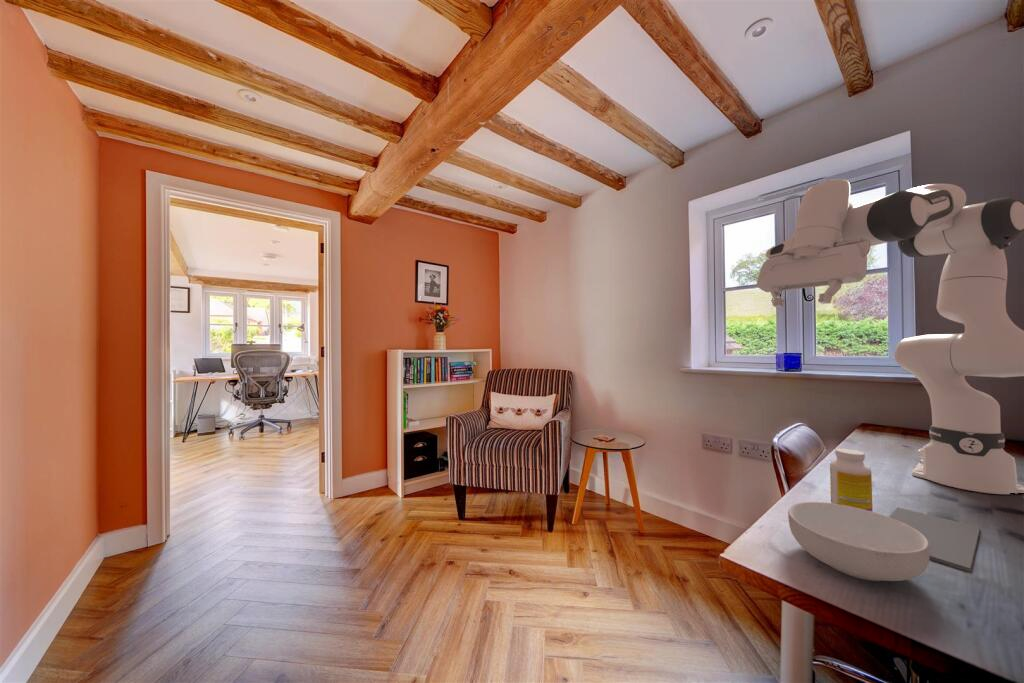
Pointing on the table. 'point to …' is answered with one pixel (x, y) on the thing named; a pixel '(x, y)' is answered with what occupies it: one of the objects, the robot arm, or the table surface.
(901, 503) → the table surface
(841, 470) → the supplement bottle
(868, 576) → the cereal bowl
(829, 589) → the table surface
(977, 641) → the table surface
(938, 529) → the mat
